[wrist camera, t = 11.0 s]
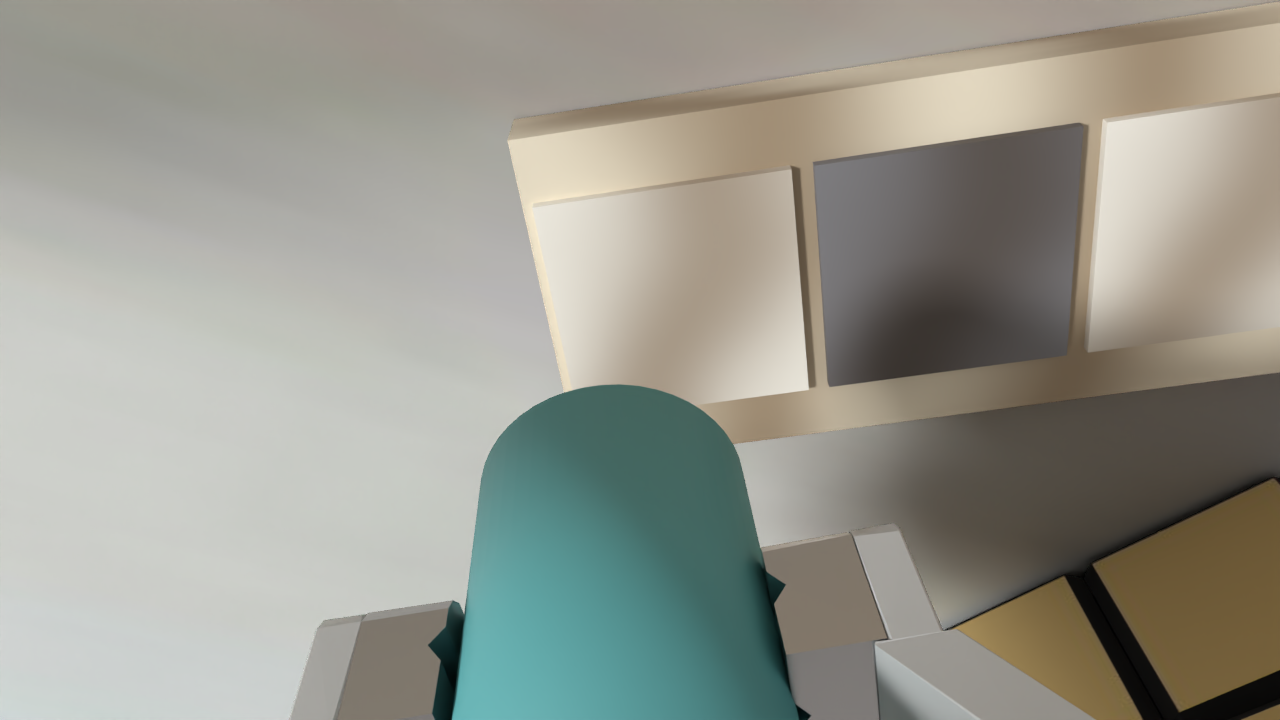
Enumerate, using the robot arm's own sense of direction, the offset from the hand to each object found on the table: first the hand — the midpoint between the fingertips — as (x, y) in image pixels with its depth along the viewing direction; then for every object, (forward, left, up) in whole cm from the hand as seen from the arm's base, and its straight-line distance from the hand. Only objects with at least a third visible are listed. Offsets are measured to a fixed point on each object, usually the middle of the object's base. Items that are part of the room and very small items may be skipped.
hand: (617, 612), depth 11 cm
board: (+8, -1, -10) cm, 13 cm away
